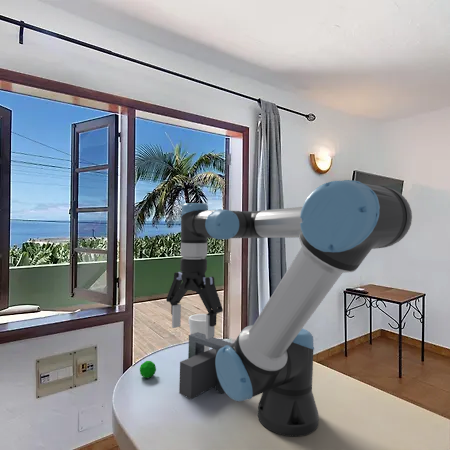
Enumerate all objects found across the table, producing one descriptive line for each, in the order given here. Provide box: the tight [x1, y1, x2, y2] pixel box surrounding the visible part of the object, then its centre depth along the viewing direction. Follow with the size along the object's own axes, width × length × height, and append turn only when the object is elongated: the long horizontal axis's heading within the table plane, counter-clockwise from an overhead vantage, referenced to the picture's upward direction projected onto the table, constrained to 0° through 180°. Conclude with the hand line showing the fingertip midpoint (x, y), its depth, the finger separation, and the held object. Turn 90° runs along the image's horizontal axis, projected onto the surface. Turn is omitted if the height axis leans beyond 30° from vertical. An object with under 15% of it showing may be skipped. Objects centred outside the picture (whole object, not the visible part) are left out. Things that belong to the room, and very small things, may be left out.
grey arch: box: [187, 332, 234, 395], centre depth 104 cm, size 14×4×14 cm, turn 50°
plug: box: [178, 348, 216, 400], centre depth 105 cm, size 6×22×9 cm, turn 140°
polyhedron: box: [139, 360, 157, 379], centre depth 107 cm, size 5×5×5 cm
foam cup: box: [188, 313, 211, 352], centre depth 129 cm, size 10×9×13 cm
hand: (192, 332), depth 98 cm, fingers open, 13 cm apart
